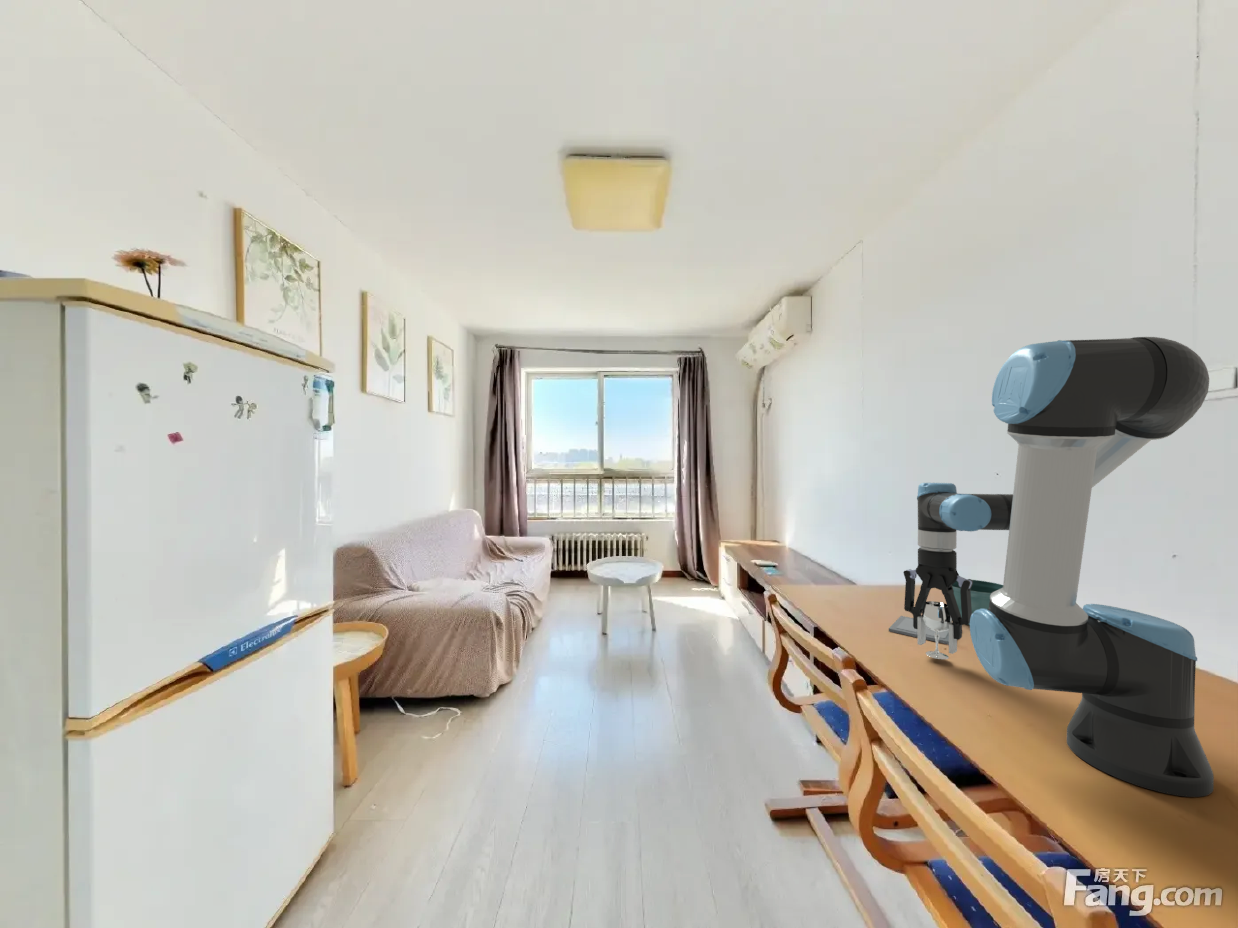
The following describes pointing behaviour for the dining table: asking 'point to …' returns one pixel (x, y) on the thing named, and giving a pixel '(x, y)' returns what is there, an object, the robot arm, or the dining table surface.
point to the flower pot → (977, 594)
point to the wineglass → (936, 623)
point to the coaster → (916, 630)
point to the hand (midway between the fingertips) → (936, 647)
